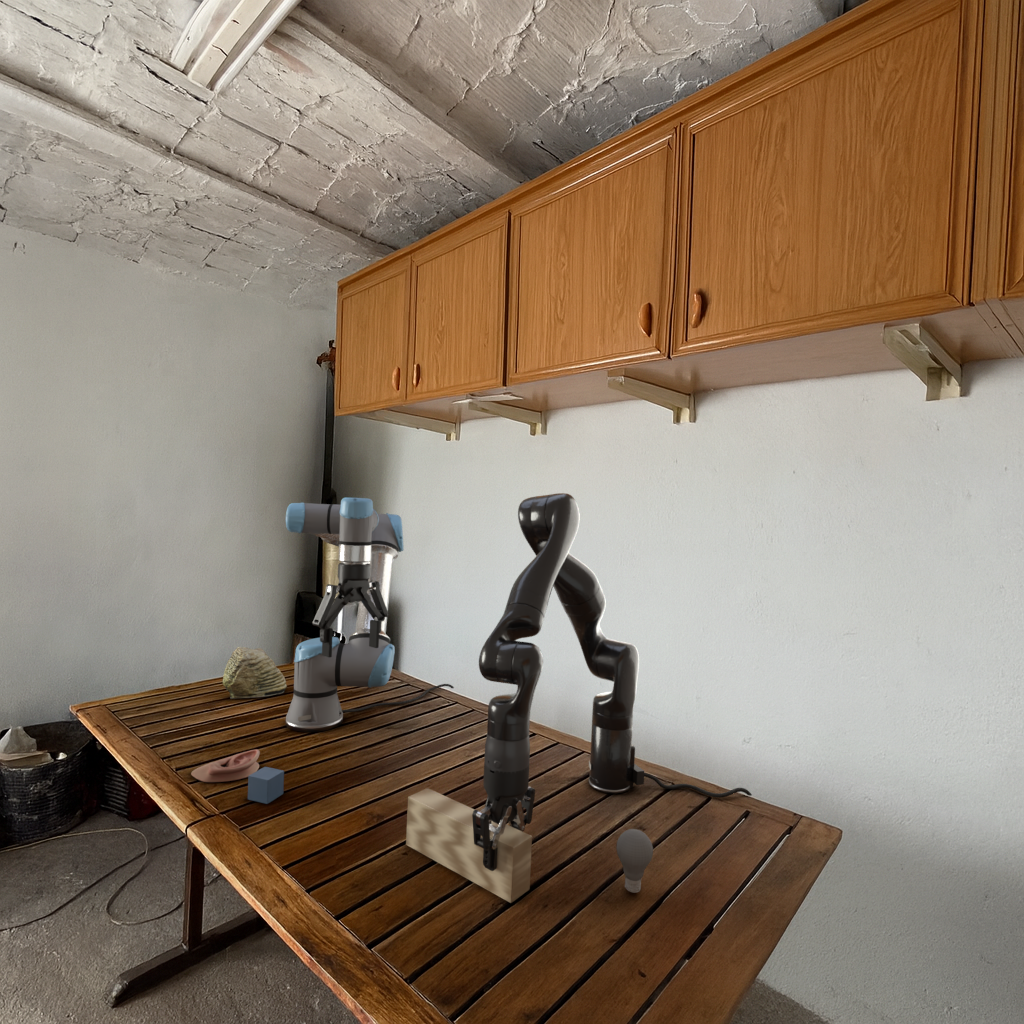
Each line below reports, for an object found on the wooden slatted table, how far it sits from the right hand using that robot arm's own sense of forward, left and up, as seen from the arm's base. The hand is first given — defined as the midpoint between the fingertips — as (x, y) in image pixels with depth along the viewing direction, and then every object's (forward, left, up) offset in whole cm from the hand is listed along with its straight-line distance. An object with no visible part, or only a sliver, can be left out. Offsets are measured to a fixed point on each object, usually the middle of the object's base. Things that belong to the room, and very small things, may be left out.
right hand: (502, 859), depth 106 cm
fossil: (+40, -115, -4) cm, 122 cm away
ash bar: (+4, -7, -4) cm, 10 cm away
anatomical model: (+45, -58, -4) cm, 73 cm away
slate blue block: (+37, -43, -4) cm, 57 cm away
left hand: (+19, -56, +22) cm, 63 cm away
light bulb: (-20, +8, -4) cm, 22 cm away
